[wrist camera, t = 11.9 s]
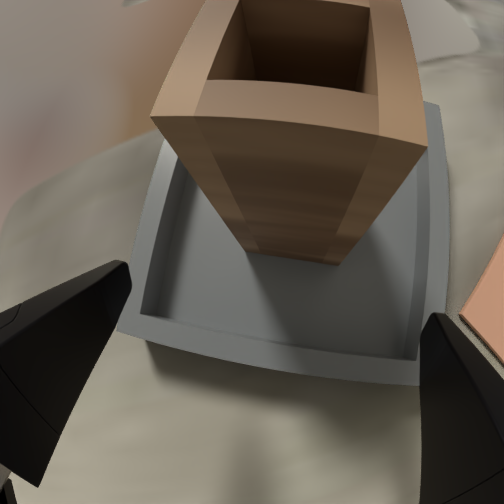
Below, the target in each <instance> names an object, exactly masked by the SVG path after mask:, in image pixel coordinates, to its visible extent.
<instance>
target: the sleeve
mask: <svg viewBox="0 0 504 504" xmlns="http://www.w3.org/2000/svg"><path fill="white" fill-rule="evenodd" d="M150 117H151V119H152V120H153V122H154V123H155V125H156V126H157V127H158V129H159V130H160V132H161V133H162V135H163V136H164V137H165V139H166V140H167V142H168V143H169V145H170V146H171V147H172V149H173V150H174V152H175V153H176V155H177V156H178V157H179V159H180V160H181V162H182V163H183V165H184V166H185V167H186V169H187V170H188V172H189V173H190V175H191V176H192V177H193V179H194V180H195V182H196V183H197V184H198V186H199V187H200V189H201V190H202V192H203V193H204V194H205V196H206V197H207V199H208V200H209V201H210V203H211V204H212V206H213V207H214V209H215V210H216V211H217V213H218V214H219V216H220V217H221V218H222V220H223V221H224V223H225V224H226V226H227V227H228V228H229V230H230V231H231V233H232V234H233V235H234V237H235V238H236V240H237V241H238V243H239V244H240V245H241V247H242V248H243V250H244V251H245V252H251V253H257V254H264V255H270V256H277V257H283V258H290V259H296V260H302V261H309V262H315V263H322V264H328V265H334V266H339V265H340V264H341V262H342V261H343V260H344V259H345V257H346V256H347V255H348V254H349V252H350V251H351V250H352V249H353V247H354V246H355V245H356V244H357V242H358V241H359V240H360V239H361V237H362V236H363V235H364V234H365V232H366V231H367V230H368V228H369V227H370V226H371V225H372V223H373V222H374V221H375V219H376V218H377V217H378V215H379V214H380V213H381V212H382V210H383V209H384V208H385V206H386V205H387V204H388V202H389V201H390V200H391V198H392V197H393V195H394V194H395V193H396V191H397V190H398V189H399V187H400V186H401V185H402V183H403V182H404V180H405V179H406V178H407V176H408V175H409V173H410V172H411V171H412V169H413V168H414V166H415V165H416V163H417V162H418V161H419V159H420V158H421V156H422V155H423V153H424V152H425V150H426V149H427V148H428V139H427V129H426V120H425V112H424V104H423V97H422V91H421V85H420V79H419V74H418V68H417V63H416V58H415V54H414V49H413V45H412V41H411V36H410V32H409V29H408V24H407V21H406V17H405V14H404V10H403V7H402V3H401V0H206V1H205V3H204V5H203V6H202V8H201V10H200V12H199V14H198V15H197V17H196V19H195V21H194V23H193V24H192V26H191V28H190V30H189V32H188V34H187V36H186V38H185V40H184V42H183V43H182V45H181V47H180V49H179V52H178V54H177V56H176V58H175V60H174V62H173V64H172V66H171V68H170V70H169V72H168V75H167V77H166V79H165V81H164V84H163V86H162V88H161V90H160V93H159V95H158V98H157V100H156V102H155V105H154V107H153V109H152V112H151V115H150Z"/></svg>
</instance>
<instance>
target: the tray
mask: <svg viewBox="0 0 504 504" xmlns="http://www.w3.org/2000/svg"><path fill="white" fill-rule="evenodd" d="M423 104H424V112H425V120H426V129H427V139H428V148H427V149H426V150H425V152H424V153H423V155H422V156H421V158H420V159H419V161H418V162H417V163H416V165H415V166H414V168H413V169H412V171H411V172H410V173H409V175H408V176H407V178H406V179H405V180H404V182H403V183H402V185H401V186H400V187H399V189H398V190H397V191H396V193H395V194H394V195H393V197H392V198H391V200H390V201H389V202H388V204H387V205H386V206H385V208H384V209H383V210H382V212H381V213H380V214H379V215H378V217H377V218H376V219H375V221H374V222H373V223H372V225H371V226H370V227H369V228H368V230H367V231H366V232H365V234H364V235H363V236H362V237H361V239H360V240H359V241H358V242H357V244H356V245H355V246H354V247H353V249H352V250H351V251H350V252H349V254H348V255H347V256H346V257H345V259H344V260H343V261H342V262H341V264H340V265H339V266H334V265H328V264H322V263H315V262H309V261H302V260H296V259H290V258H283V257H277V256H270V255H264V254H257V253H251V252H245V251H244V250H243V248H242V247H241V245H240V244H239V243H238V241H237V240H236V238H235V237H234V235H233V234H232V233H231V231H230V230H229V228H228V227H227V226H226V224H225V223H224V221H223V220H222V218H221V217H220V216H219V214H218V213H217V211H216V210H215V209H214V207H213V206H212V204H211V203H210V201H209V200H208V199H207V197H206V196H205V194H204V193H203V192H202V190H201V189H200V187H199V186H198V184H197V183H196V182H195V180H194V179H193V177H192V176H191V175H190V173H189V172H188V170H187V169H186V167H185V166H184V165H183V163H182V162H181V160H180V159H179V157H178V156H177V155H176V153H175V152H174V150H173V149H172V147H171V146H170V145H169V143H168V142H167V140H166V139H164V142H163V145H162V148H161V151H160V154H159V157H158V160H157V163H156V166H155V169H154V172H153V176H152V179H151V182H150V186H149V189H148V193H147V196H146V200H145V203H144V207H143V210H142V214H141V218H140V222H139V225H138V229H137V233H136V237H135V241H134V246H133V250H132V254H131V258H130V263H129V271H130V275H131V280H132V290H131V293H130V295H129V297H128V299H127V302H126V304H125V306H124V308H123V311H122V313H121V315H120V318H119V320H118V324H117V330H116V331H118V332H121V333H124V334H127V335H130V336H134V337H137V338H141V339H144V340H147V341H151V342H154V343H158V344H162V345H165V346H169V347H173V348H177V349H181V350H184V351H188V352H192V353H197V354H201V355H205V356H209V357H214V358H218V359H222V360H227V361H232V362H236V363H241V364H246V365H251V366H257V367H262V368H267V369H273V370H279V371H284V372H291V373H297V374H303V375H310V376H317V377H324V378H332V379H340V380H349V381H358V382H369V383H380V384H393V385H408V386H419V373H420V334H421V332H422V330H423V328H424V326H425V324H426V322H427V320H428V318H429V316H430V314H431V313H433V312H439V313H445V305H446V295H447V283H448V268H449V240H450V215H449V187H448V172H447V161H446V151H445V142H444V134H443V127H442V120H441V114H440V108H439V105H436V104H433V103H429V102H425V101H423Z"/></svg>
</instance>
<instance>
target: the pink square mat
mask: <svg viewBox="0 0 504 504" xmlns="http://www.w3.org/2000/svg"><path fill="white" fill-rule="evenodd" d="M459 315H460V316H461V317H462V318H463V319H464V320H465V321H466V323H467V324H468V325H469V326H470V327H471V328H472V329H473V330H474V331H475V332H476V333H477V334H478V336H479V337H480V338H481V339H482V340H483V341H484V342H485V343H486V345H487V346H488V347H489V348H490V349H491V350H492V351H493V352H494V354H495V355H496V356H497V357H498V358H499V359H500V361H501V362H502V363H503V364H504V234H503V236H502V238H501V240H500V242H499V244H498V246H497V248H496V250H495V252H494V254H493V256H492V258H491V260H490V262H489V264H488V265H487V267H486V269H485V271H484V273H483V274H482V276H481V278H480V280H479V281H478V283H477V285H476V287H475V288H474V290H473V292H472V293H471V295H470V297H469V298H468V300H467V301H466V303H465V305H464V306H463V308H462V309H461V311H460V312H459Z"/></svg>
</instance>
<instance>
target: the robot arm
mask: <svg viewBox="0 0 504 504" xmlns="http://www.w3.org/2000/svg"><path fill="white" fill-rule="evenodd" d="M131 290H132V280H131V275H130V271H129V266H128V264H127V263H126V262H124V261H119V260H113V261H111V262H109V263H106V264H104V265H102V266H100V267H97V268H95V269H93V270H91V271H88V272H86V273H84V274H82V275H80V276H77V277H75V278H73V279H71V280H69V281H66V282H64V283H62V284H60V285H58V286H56V287H53V288H51V289H49V290H47V291H45V292H43V293H41V294H39V295H37V296H34V297H32V298H30V299H28V300H26V301H24V302H23V303H20V304H18V305H16V306H14V307H12V308H10V309H7V310H5V311H3V312H1V313H0V504H17V501H16V498H15V494H14V490H13V485H12V481H11V480H10V479H9V478H8V477H9V475H10V473H11V472H13V473H15V474H16V475H18V476H19V477H21V478H22V479H24V480H26V481H27V482H29V483H30V484H32V485H34V486H35V487H37V488H38V487H39V485H40V483H41V481H42V478H43V476H44V473H45V471H46V468H47V466H48V464H49V461H50V459H51V457H52V454H53V452H54V450H55V447H56V445H57V443H58V441H59V438H60V436H61V434H62V431H63V429H64V427H65V425H66V423H67V421H68V418H69V416H70V414H71V412H72V410H73V408H74V406H75V404H76V402H77V400H78V398H79V396H80V394H81V392H82V390H83V388H84V386H85V384H86V382H87V380H88V378H89V376H90V374H91V372H92V370H93V368H94V366H95V364H96V362H97V361H98V359H99V357H100V355H101V353H102V351H103V349H104V347H105V346H106V344H107V342H108V340H109V338H110V336H111V335H112V333H113V331H114V329H115V327H116V324H117V322H118V320H119V318H120V315H121V313H122V311H123V308H124V306H125V304H126V302H127V299H128V297H129V295H130V293H131ZM419 389H420V407H421V439H422V455H421V486H420V501H419V504H504V380H503V378H502V377H501V376H500V375H499V374H498V372H497V371H496V370H495V369H494V367H493V366H492V365H491V364H490V363H489V362H488V360H487V359H486V358H485V357H484V356H483V355H482V353H481V352H480V351H479V350H478V349H477V348H476V347H475V345H474V344H473V343H472V342H471V341H470V340H469V339H468V338H467V336H466V335H465V334H464V333H463V332H462V331H461V330H460V329H459V328H458V327H457V326H456V324H455V323H454V322H453V321H452V320H451V319H450V318H449V317H448V316H447V315H446V314H445V313H439V312H433V313H431V314H430V316H429V318H428V320H427V322H426V324H425V326H424V328H423V330H422V332H421V334H420V373H419Z"/></svg>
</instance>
